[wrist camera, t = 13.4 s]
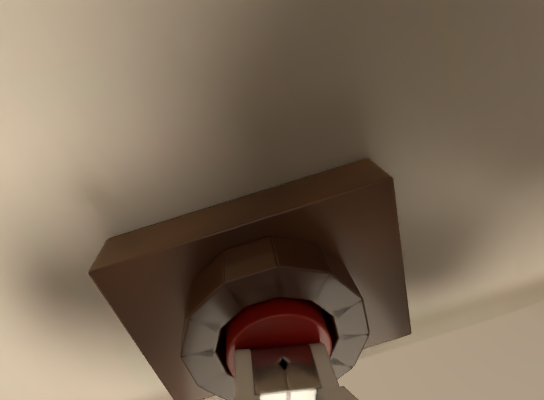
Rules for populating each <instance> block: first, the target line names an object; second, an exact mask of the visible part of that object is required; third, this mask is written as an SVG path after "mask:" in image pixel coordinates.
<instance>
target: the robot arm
mask: <svg viewBox="0 0 544 400" xmlns="http://www.w3.org/2000/svg"><path fill="white" fill-rule="evenodd" d="M231 400H358V399H357V398H356V397H355V396H354V395H353V394H352V393H351V392H349V391H348V390H347V389H346V388H345V387H344V386H341V387H339V384H338V381H337V378H336V375H335V373H334V370H333V367H332V364H331V361H330V358H329V355H328V352H327V349H326V347H325V345H324V343H314V344H300V345H289V346H279V347H270V348H251V349H238V350H235V397H233V398H231Z"/></svg>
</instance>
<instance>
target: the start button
mask: <svg viewBox="0 0 544 400" xmlns="http://www.w3.org/2000/svg"><path fill="white" fill-rule="evenodd" d="M314 343H324V345H325V347H326V349H327V352H328V355H329V357H330V355H331V350H332V341H331V337H330V334H329V331H328V329H327V326H326V323H325V320H324V318H323V315H322V312H321V310H320V307H319V306H318V305H316V304H315V303H314V302H312V301H311V300H303V299H294V298H285V297H276V298H273V299H269V300H266V301H263V302H260V303H257V304H253V305H250V306H247V307H245V308H243V309H242V310H241V311H240V312H239V313H238V314H237V315H236V316H235V317H233V318H232V319H231V320H230V321H229V322H228V323H227V324H226V362H227V366H228V369H229V371H230V372H231V374H232V376H233V377H234V378H235V350H238V349H251V348H270V347H279V346H289V345H300V344H314Z"/></svg>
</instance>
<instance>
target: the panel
mask: <svg viewBox="0 0 544 400" xmlns="http://www.w3.org/2000/svg"><path fill="white" fill-rule="evenodd" d="M89 275H90V277H91V278H92V280H93V281H94V283H95V284H96V286H97V287H98V289H99V290H100V292H101V293H102V294H103V296H104V297H105V299H106V300H107V302H108V303H109V305H110V306H111V308H112V309H113V311H114V312H115V314H116V315H117V317H118V318H119V320H120V321H121V323H122V324H123V325H124V327H125V328H126V330H127V331H128V333H129V334H130V336H131V337H132V339H133V340H134V342H135V343H136V345H137V346H138V348H139V349H140V351H141V352H142V354H143V355H144V356H145V358H146V359H147V361H148V362H149V364H150V365H151V367H152V368H153V370H154V371H155V373H156V374H157V376H158V377H159V379H160V380H161V382H162V383H163V385H164V386H165V387H166V389H167V390H168V392H169V393H170V395H171V396H172V398H173V399H174V400H202V399H205V398H208V397H211V396H215V395H217V396H219V397H221V398H223V399H225V400H231V398H233V397H235V378H234V377H233V376H232V374H231V372H230V371H229V369H228V366H227V362H226V324H227V323H228V322H229V321H230V320H231V319H232V318H233V317H235V316H236V315H237V314H238V313H239V312H240V311H241V310H242V309H243V308H245V307H247V306H250V305H253V304H257V303H260V302H263V301H266V300H269V299H273V298H276V297H285V298H294V299H303V300H311V301H312V302H314V303H315V304H316V305H318V306H319V307H320V310H321V312H322V315H323V318H324V320H325V323H326V326H327V329H328V331H329V334H330V337H331V341H332V350H331V355H330V357H329V358H330V361H331V364H332V367H333V370H334V373H335V375H336V378H337V379H339V378H340V377H341V376H343V375H344V374H345V373H347V372H348V371H349V370H351V369H352V368H353V366H354V365H355V363H356V362H357V359H358V357H359V355H360V353H361V351H362V349H365V348H368V347H371V346H375V345H378V344H381V343H384V342H387V341H391V340H394V339H397V338H400V337H403V336H407V335H410V334H411V326H410V317H409V309H408V300H407V292H406V284H405V275H404V267H403V258H402V250H401V242H400V233H399V225H398V216H397V208H396V200H395V191H394V183H393V178H392V176H390V175H389V174H388V173H387V172H385V171H384V170H383V169H382V168H380V167H379V166H378V165H377V164H375V163H374V162H373V161H372V160H371V159H369V158H366V159H363V160H360V161H357V162H354V163H350V164H347V165H344V166H341V167H337V168H334V169H331V170H328V171H325V172H321V173H318V174H315V175H312V176H309V177H305V178H302V179H299V180H296V181H293V182H289V183H286V184H283V185H280V186H277V187H273V188H270V189H267V190H264V191H261V192H257V193H254V194H251V195H248V196H245V197H241V198H238V199H235V200H232V201H229V202H225V203H222V204H219V205H216V206H213V207H209V208H206V209H203V210H200V211H197V212H193V213H190V214H187V215H184V216H181V217H177V218H174V219H171V220H168V221H165V222H161V223H158V224H155V225H152V226H149V227H145V228H142V229H139V230H136V231H133V232H129V233H126V234H123V235H120V236H117V237H113V238H110V239H108V240H106V242H105V244H104V246H103V247H102V249H101V251H100V253H99V254H98V256H97V258H96V260H95V261H94V263H93V265H92V267H91V268H90V270H89Z"/></svg>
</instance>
